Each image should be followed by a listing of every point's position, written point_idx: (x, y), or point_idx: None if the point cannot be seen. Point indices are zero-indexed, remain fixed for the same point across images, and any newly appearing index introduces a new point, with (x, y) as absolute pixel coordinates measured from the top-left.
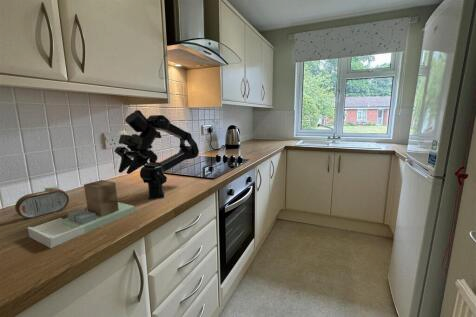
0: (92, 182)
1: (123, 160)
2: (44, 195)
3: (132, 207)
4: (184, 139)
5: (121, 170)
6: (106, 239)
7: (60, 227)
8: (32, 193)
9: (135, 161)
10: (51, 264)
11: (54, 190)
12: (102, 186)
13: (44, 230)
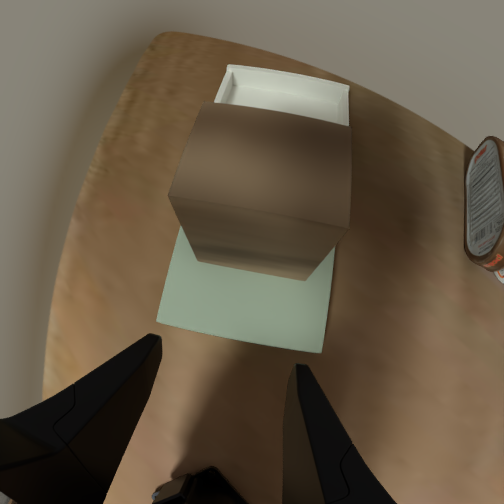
0: (347, 166)
1: (319, 484)
2: (501, 180)
3: (159, 307)
4: None
5: (290, 393)
6: (124, 138)
7: None
8: None
9: (29, 415)
10: (170, 64)
11: None
12: (195, 122)
13: (338, 120)
